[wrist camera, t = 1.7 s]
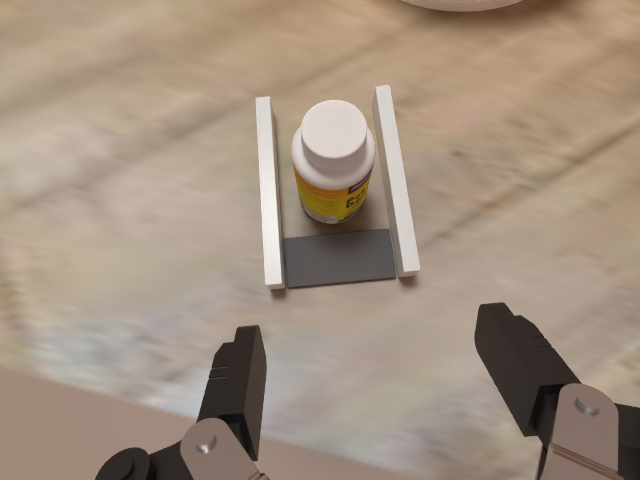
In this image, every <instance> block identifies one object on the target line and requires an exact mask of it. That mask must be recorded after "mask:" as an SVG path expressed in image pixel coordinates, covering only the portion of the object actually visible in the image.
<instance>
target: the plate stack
mask: <svg viewBox="0 0 640 480" xmlns="http://www.w3.org/2000/svg"><path fill="white" fill-rule="evenodd" d="M400 1H403V2H406V3H409V4H412V5H416V6H420V7H424V8H429V9H435V10H443V11H458V12H467V11H482V10H489V9H495V8H500V7H504V6H508V5H512V4H515V3H518V2H521V1H523V0H400Z"/></svg>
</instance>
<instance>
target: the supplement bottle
mask: <svg viewBox="0 0 640 480" xmlns="http://www.w3.org/2000/svg"><path fill="white" fill-rule="evenodd" d="M375 154H376V147H375V141H374V138H373V135H372V133H371V131H370V130H369V128H368V127H367V123H366V120H365V118H364V116H363V114H362V113H361V112H360V110H359V109H358V108H356V107H355V106H354V105H352V104H350V103H348V102H345V101H341V100H328V101H324V102H321V103H318V104H317V105H315V106H314V107H312V108H311V109H310V110H309V111H308V112H307V113H306V115H305V116H304V118H303V121H302V124H301V126H300V127H299V128H298V130H297V131H296V133H295V135H294V138H293V141H292V145H291V155H292V161H293V166H294V172H295V177H296V182H297V187H298V192H299V197H300V201H301V204H302V206H303V208H304V210H305V211H306V212H307V213H308V214H309V215H310V216H311V217H312V218H314V219H316V220H318V221H320V222H323V223H328V224H336V223H341V222H344V221H347V220H349V219H350V218H352V217H353V216H354V215H355V214H356V213H357V212H358V211H359V210H360V208H361V207H362V204H363V202H364V199H365V195H366V191H367V187H368V183H369V179H370V176H371V172H372V168H373V164H374V160H375Z"/></svg>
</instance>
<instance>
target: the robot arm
mask: <svg viewBox="0 0 640 480" xmlns="http://www.w3.org/2000/svg"><path fill="white" fill-rule="evenodd" d="M475 346H476V349H477V352H478V354H479V356H480V358H481V359H482V361H483V363H484V365H485V367H486V368H487V370H488V372H489V374H490V376H491V377H492V379H493V381H494V383H495V385H496V386H497V388H498V390H499V392H500V394H501V395H502V397H503V399H504V401H505V403H506V405H507V406H508V408H509V410H510V412H511V414H512V415H513V417H514V419H515V421H516V423H517V424H518V426H519V428H520V430H521V432H522V433H523V435H524V437H527V436H537V435H538V437H539V438H540V440H541V442H542V446H541V449H540V454H539V459H538V465H537V470H536V475H535V480H640V408H638V407H632V406H627V405H621V404H616V403H613V402H612V400H611V399H610V398H609V397H608V396H606V395H605V394H604V393H602V392H601V391H599V390H597V389H595V388H593V387H591V386H588V385H584V384H582V383H581V382H580V381H579V379H578V378H577V377H576V376H575V374H574V373H573V372H572V371H571V369H570V368H569V367H568V366H567V364H566V363H565V362H564V361H563V359H562V358H561V357H560V356H559V354H558V353H557V352H556V351H555V349H554V348H552V347H551V344H550V343H549V342H548V341H547V339H546V338H545V339H544V336H543V334H542V333H541V332H540V331H539V329H538V328H537V327H536V326H535V325H534V324H533V323H531V322H530V321H528V320H527V319H526V318H524V317H523V316H521V315H518V316H514V315H513V313H512V312H511V311H510V309H509V308H508V307H507V305H506V304H505V303H503V302H500V303H490V304H481V305H480V307H479V311H478V317H477V323H476V330H475ZM266 371H267V364H266V355H265V350H264V345H263V341H262V336H261V332H260V328H259V325H253V326H243V327H238V328H237V330H236V335H235V339H234V342H229V343H223V345H222V346H221V347H220V349H219V350H218V351H217V352H216V354H215V356H214V360H213V364H212V370H211V371H210V375H209V380H208V382H207V386H206V390H205V394H204V397H203V401H202V405H201V408H200V412H199V416H198V419H197V422H196V424H195V425H193V426H192V427H191V428H190V429H189V430H188V431H187V432H186V433H185V435H184V437H183V439H182V440H181V441H179V442H177V443H176V444H174V445H172V446H170V447H167V448H164V449H162V450H159V451H157V452H155V453H152V454H149V455H148V453H147V452H146V451H145V450H143V449H141V448H136V447H135V448H128V449H125V450H122V451H120V452H118V453H117V454H115V455H114V456H112V457H111V458H110V459H109V460H108V461H107V462H106V463H105V464H104V465H103V466H102V468H101V469H100V471H99V472H98V474H97V476H96V479H95V480H270V479H269V477H268V476H267V475H266V474H265V473H263V474H262V473H260V471H259V470H258V469H257V467H256V466H255V464H254V463H253V461H257V460H258V450H259V441H260V431H261V421H262V411H263V401H264V391H265V382H266Z"/></svg>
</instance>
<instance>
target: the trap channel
mask: <svg viewBox="0 0 640 480" xmlns="http://www.w3.org/2000/svg"><path fill="white" fill-rule="evenodd" d="M372 107H373V114H374V121H375V127H376V134H377V141H378V147H379V154H380V161H381V167H382V174H383V181H384V187H385V194H386V200H387V207H388V214H389V220H390V227H391V234H392V240H393V247H394V254H395V260H396V267H397V274H398V277H409V276H414V275H415V274H416V273H418V272H419V271H420V265H419V259H418V253H417V247H416V241H415V235H414V229H413V223H412V217H411V211H410V205H409V199H408V193H407V187H406V181H405V175H404V169H403V163H402V157H401V151H400V145H399V139H398V133H397V127H396V121H395V115H394V109H393V103H392V97H391V91H390V85H385V86H375V91H374V97H373V103H372ZM256 115H257V134H258V153H259V172H260V191H261V210H262V229H263V248H264V267H265V285H266V286H267V287H268V288H269V289H270V290H273V289H283V288H286V286H285V271H284V257H283V242H282V227H281V212H280V197H279V182H278V167H277V152H276V137H275V122H274V112H273V108H272V104H271V100H270V96H269V97H259V98H256ZM284 242H285V257H286V271H287V286H288V288H293V287H304V286H314V285H325V284H335V283H346V282H356V281H367V280H377V279H388V278H396V271H395V264H394V257H393V250H392V244H391V237H390V230H389V229H379V230H369V231H358V232H348V233H337V234H327V235H316V236H306V237H295V238H285V239H284Z"/></svg>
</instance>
